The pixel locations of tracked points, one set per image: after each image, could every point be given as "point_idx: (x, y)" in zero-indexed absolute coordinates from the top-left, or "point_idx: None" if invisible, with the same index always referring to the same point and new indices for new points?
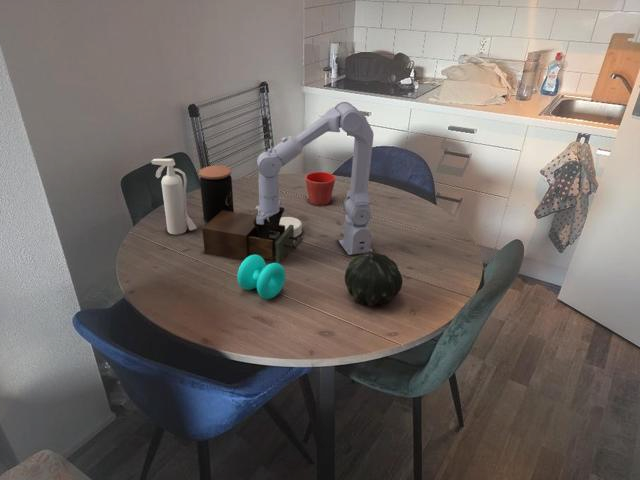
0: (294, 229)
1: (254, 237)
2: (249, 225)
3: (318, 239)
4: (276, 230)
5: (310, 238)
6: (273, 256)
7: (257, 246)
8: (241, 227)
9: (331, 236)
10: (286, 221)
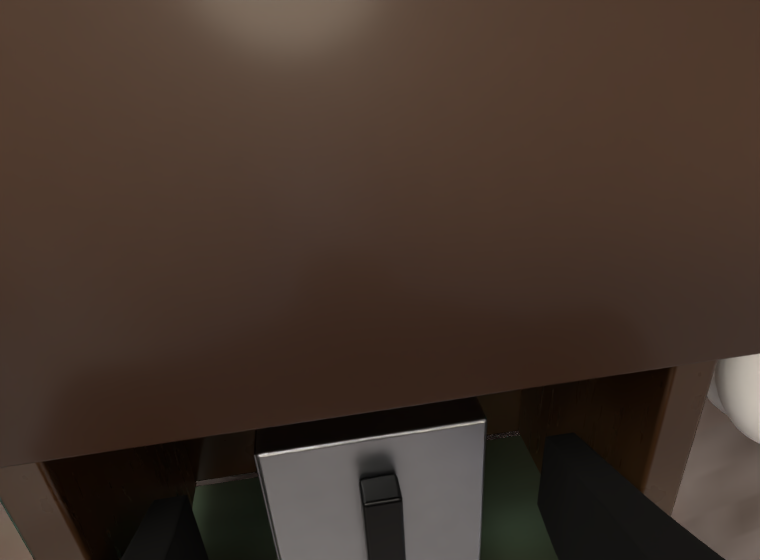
0: (757, 442)
1: (36, 509)
2: (345, 287)
3: (692, 511)
4: (543, 510)
5: (701, 467)
6: (198, 479)
7: None
8: (90, 143)
9: (746, 548)
10: None
